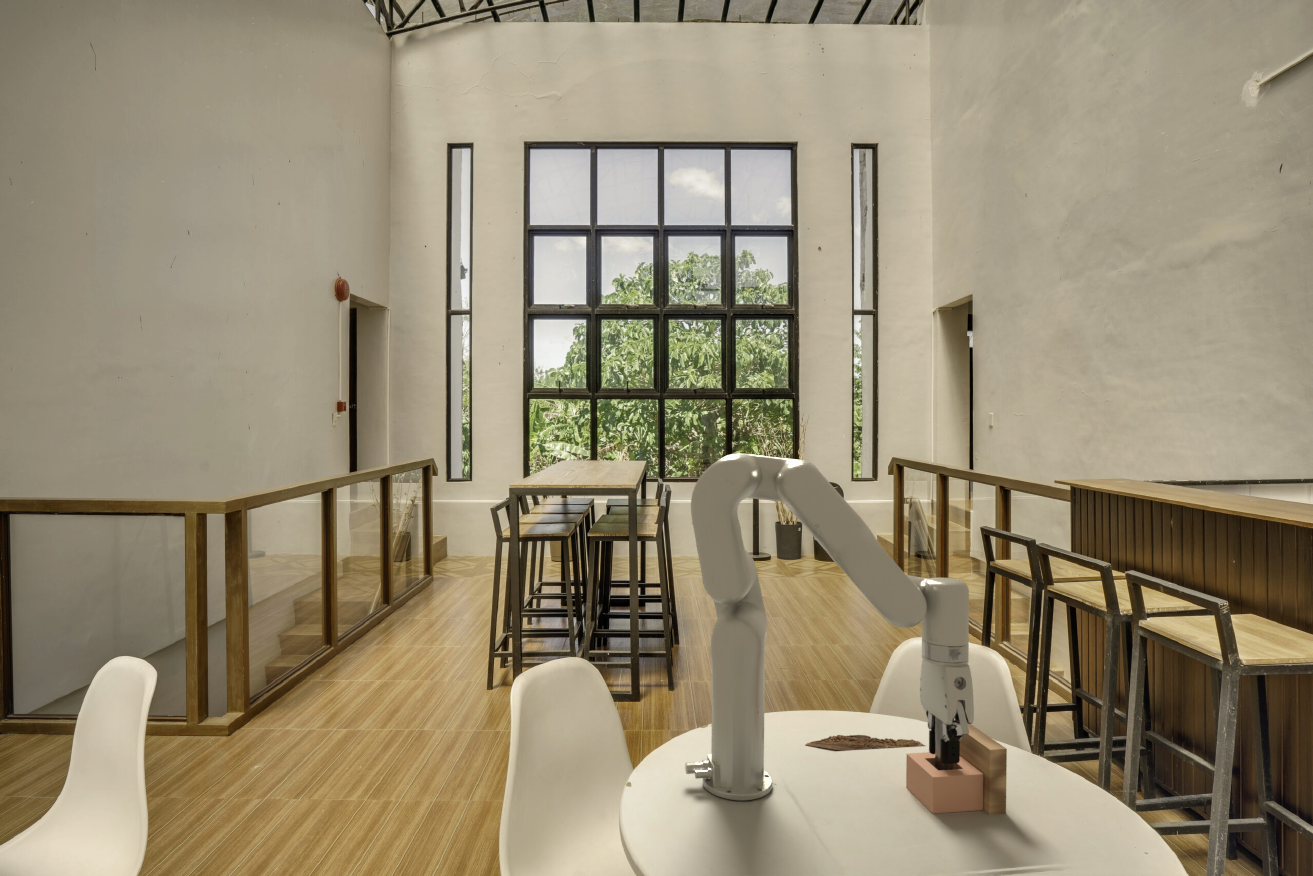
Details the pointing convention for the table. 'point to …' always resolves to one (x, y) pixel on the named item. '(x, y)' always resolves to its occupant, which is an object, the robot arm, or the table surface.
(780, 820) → the table surface
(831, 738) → the wooden fragment
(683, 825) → the table surface
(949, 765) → the dowel
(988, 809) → the block
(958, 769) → the block
